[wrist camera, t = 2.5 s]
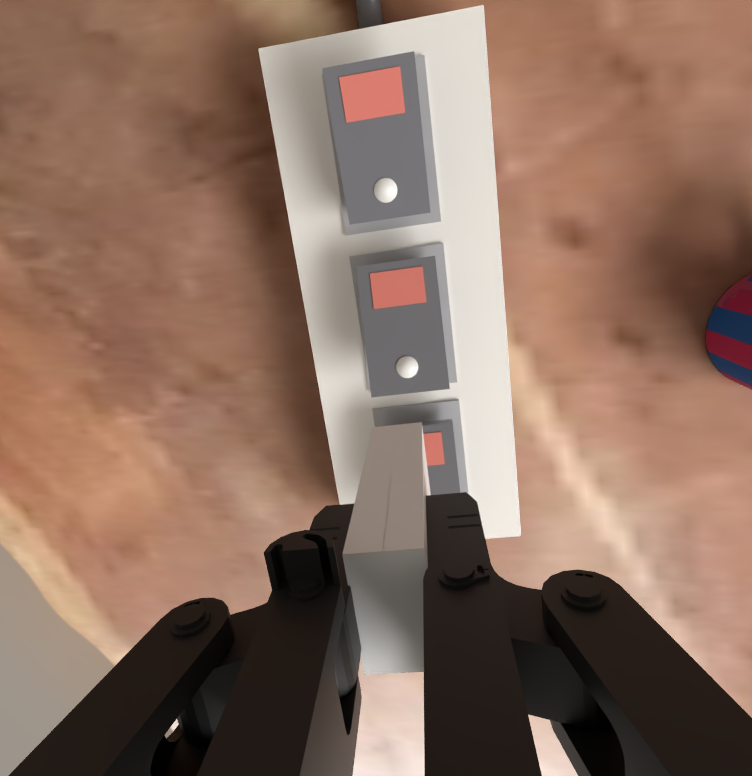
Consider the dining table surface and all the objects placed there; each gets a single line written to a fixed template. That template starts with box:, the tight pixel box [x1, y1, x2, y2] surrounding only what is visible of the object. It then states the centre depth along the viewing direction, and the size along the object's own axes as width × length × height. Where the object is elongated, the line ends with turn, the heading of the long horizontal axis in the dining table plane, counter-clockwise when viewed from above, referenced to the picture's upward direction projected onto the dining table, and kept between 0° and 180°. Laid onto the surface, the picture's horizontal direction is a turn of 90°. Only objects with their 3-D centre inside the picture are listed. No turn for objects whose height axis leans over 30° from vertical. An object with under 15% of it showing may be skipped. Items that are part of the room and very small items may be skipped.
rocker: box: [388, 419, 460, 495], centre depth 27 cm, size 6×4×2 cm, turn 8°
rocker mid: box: [356, 256, 450, 398], centre depth 24 cm, size 6×4×2 cm, turn 8°
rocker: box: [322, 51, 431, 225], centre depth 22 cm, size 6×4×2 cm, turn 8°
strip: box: [258, 0, 521, 539], centre depth 27 cm, size 34×10×5 cm, turn 8°
